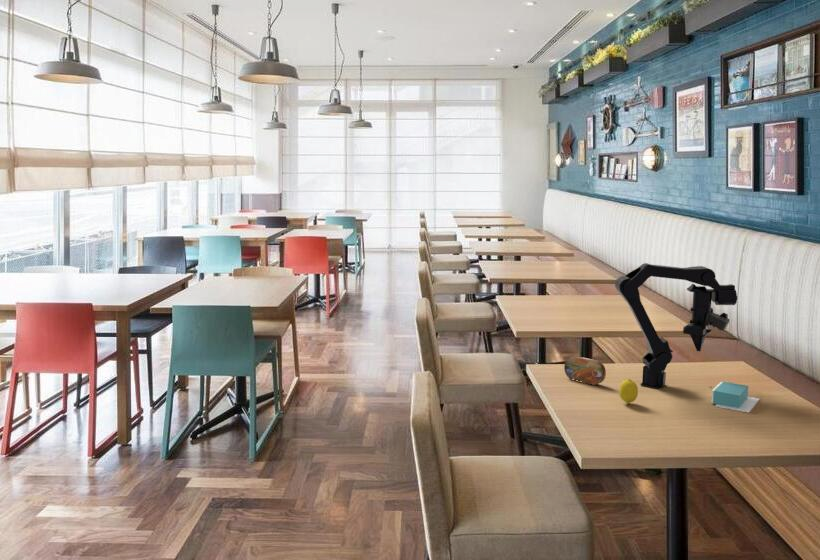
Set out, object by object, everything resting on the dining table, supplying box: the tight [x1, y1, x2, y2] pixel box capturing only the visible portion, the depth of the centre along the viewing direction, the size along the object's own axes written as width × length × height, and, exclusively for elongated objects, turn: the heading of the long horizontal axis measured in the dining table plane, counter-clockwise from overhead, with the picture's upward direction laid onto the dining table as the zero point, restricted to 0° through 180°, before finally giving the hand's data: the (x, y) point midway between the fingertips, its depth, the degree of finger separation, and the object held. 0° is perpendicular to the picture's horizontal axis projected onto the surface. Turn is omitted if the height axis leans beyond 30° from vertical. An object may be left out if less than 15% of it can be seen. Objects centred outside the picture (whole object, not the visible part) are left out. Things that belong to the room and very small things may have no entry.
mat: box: [715, 396, 760, 414], centre depth 223 cm, size 10×15×1 cm, turn 144°
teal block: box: [710, 381, 749, 408], centre depth 224 cm, size 4×12×8 cm
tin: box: [563, 355, 607, 386], centre depth 244 cm, size 15×3×8 cm, turn 44°
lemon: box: [618, 378, 639, 405], centre depth 221 cm, size 6×6×8 cm
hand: (698, 351), depth 238 cm, fingers closed
